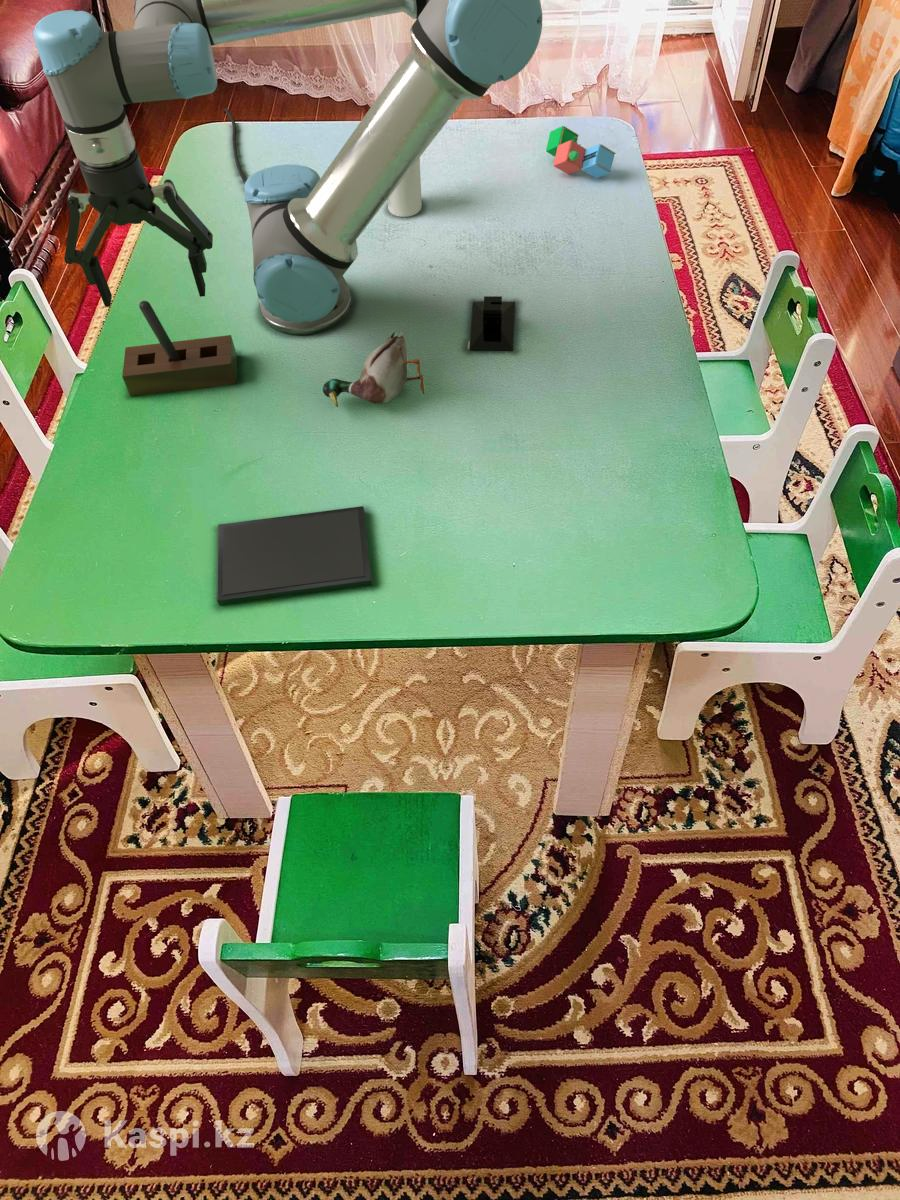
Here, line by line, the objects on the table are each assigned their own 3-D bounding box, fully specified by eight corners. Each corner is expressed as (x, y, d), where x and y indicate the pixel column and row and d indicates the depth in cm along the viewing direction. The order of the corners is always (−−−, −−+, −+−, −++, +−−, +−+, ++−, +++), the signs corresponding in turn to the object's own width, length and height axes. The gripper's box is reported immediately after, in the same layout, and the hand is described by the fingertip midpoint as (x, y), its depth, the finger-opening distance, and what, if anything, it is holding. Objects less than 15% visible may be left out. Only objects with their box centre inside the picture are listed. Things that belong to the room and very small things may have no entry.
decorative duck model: (313, 388, 134) (324, 319, 142) (326, 425, 140) (335, 357, 148) (415, 379, 132) (420, 310, 140) (424, 417, 138) (427, 348, 146)
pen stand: (133, 367, 148) (125, 347, 144) (236, 355, 148) (231, 334, 145) (130, 396, 144) (121, 376, 140) (236, 383, 144) (230, 363, 141)
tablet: (220, 530, 127) (217, 523, 126) (364, 511, 128) (363, 505, 127) (218, 605, 119) (216, 600, 118) (372, 585, 120) (371, 579, 119)
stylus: (179, 372, 146) (137, 299, 133) (189, 370, 146) (148, 297, 133) (179, 380, 146) (137, 307, 132) (189, 378, 146) (147, 305, 132)
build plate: (513, 352, 146) (513, 328, 143) (467, 351, 147) (466, 328, 143) (515, 303, 154) (515, 279, 150) (471, 302, 154) (470, 278, 150)
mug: (416, 194, 174) (412, 131, 164) (427, 213, 170) (423, 149, 160) (365, 206, 172) (358, 143, 163) (375, 225, 169) (368, 161, 159)
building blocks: (570, 188, 182) (611, 173, 171) (539, 170, 177) (578, 154, 167) (580, 149, 181) (621, 132, 171) (548, 130, 177) (589, 111, 167)
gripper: (2, 179, 114) (66, 321, 131) (205, 158, 115) (241, 302, 132) (11, 148, 118) (71, 290, 136) (206, 128, 120) (241, 271, 137)
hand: (155, 296), depth 134 cm, fingers open, 13 cm apart
